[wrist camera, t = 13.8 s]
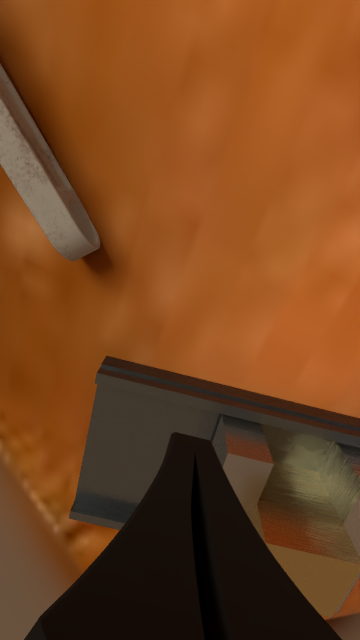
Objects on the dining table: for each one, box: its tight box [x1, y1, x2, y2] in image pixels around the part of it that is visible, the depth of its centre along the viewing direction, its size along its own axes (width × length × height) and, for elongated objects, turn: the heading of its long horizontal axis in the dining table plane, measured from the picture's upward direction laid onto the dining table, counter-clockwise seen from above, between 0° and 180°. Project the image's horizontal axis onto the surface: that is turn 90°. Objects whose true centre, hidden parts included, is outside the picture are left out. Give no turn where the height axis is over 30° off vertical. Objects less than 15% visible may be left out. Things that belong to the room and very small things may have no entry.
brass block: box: [250, 461, 360, 618], centre depth 19 cm, size 5×4×6 cm
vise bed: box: [69, 356, 360, 612], centre depth 20 cm, size 18×12×5 cm, turn 76°
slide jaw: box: [212, 414, 274, 519], centre depth 20 cm, size 2×10×4 cm, turn 166°
